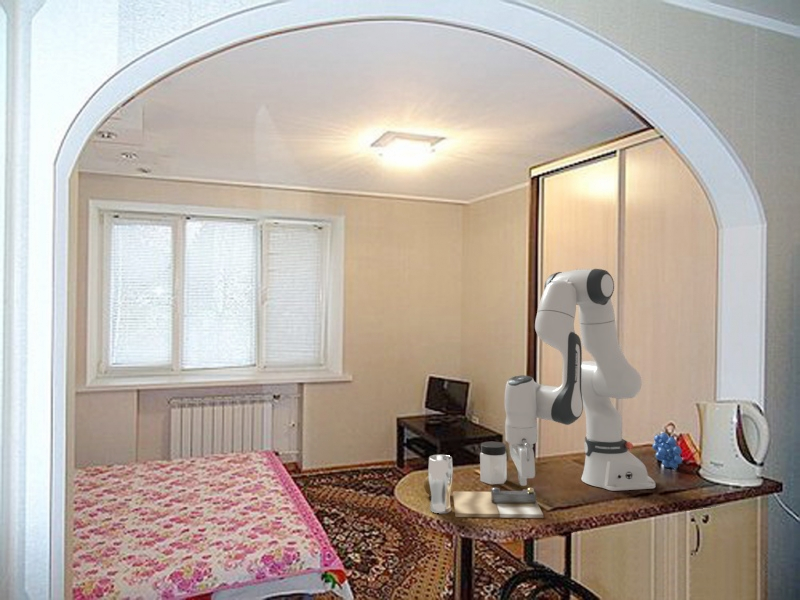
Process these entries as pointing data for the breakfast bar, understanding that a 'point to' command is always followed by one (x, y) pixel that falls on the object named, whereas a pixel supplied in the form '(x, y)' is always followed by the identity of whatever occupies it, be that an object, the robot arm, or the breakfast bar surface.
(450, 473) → the beer glass
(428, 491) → the onion
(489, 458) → the jar
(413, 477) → the breakfast bar surface
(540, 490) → the breakfast bar surface
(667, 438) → the grapes
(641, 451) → the breakfast bar surface
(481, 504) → the door board
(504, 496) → the bar
